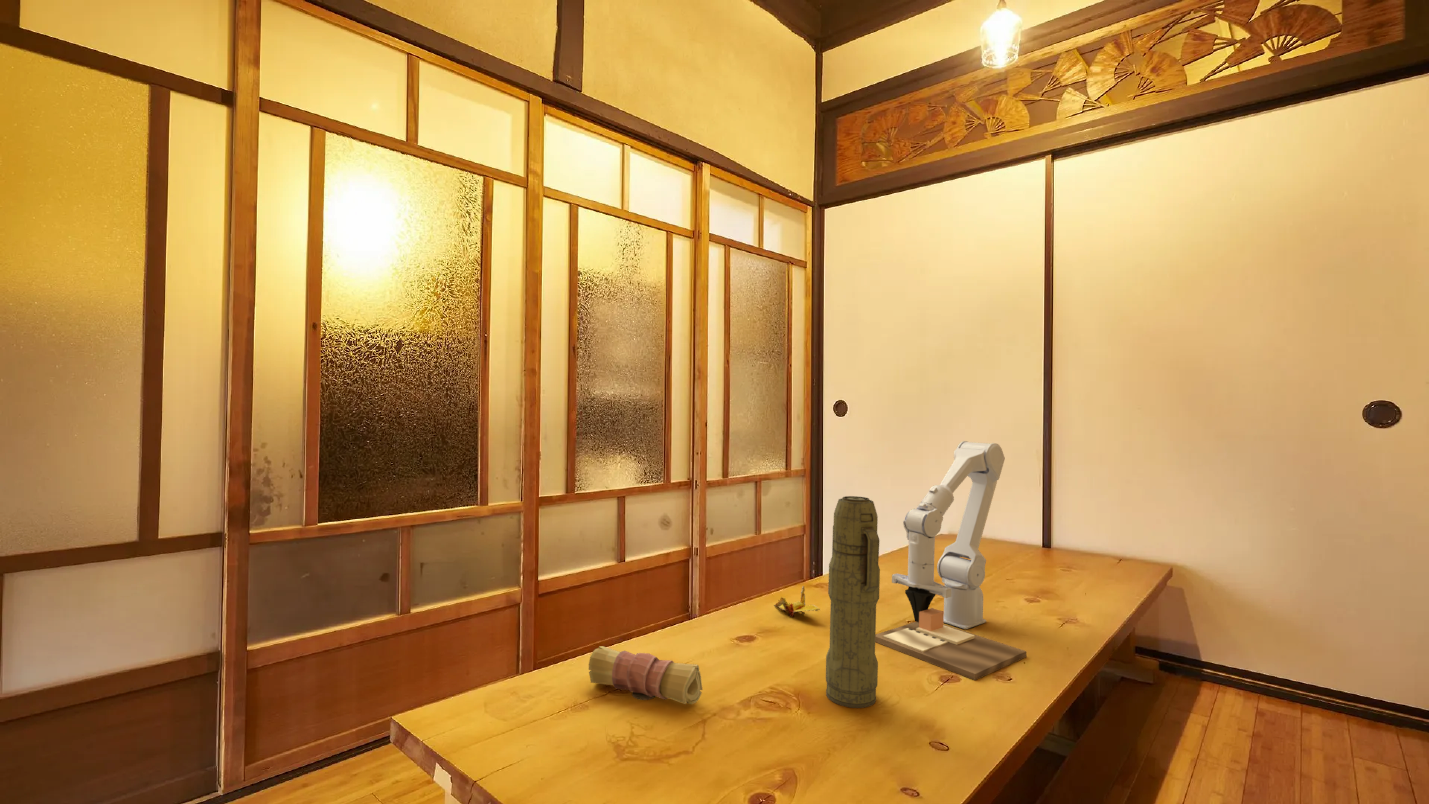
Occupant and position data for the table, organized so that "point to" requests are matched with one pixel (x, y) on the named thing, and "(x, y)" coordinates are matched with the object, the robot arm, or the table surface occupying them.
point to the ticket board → (952, 651)
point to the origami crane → (796, 605)
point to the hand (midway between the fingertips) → (919, 621)
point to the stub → (940, 627)
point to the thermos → (853, 604)
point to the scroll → (646, 675)
